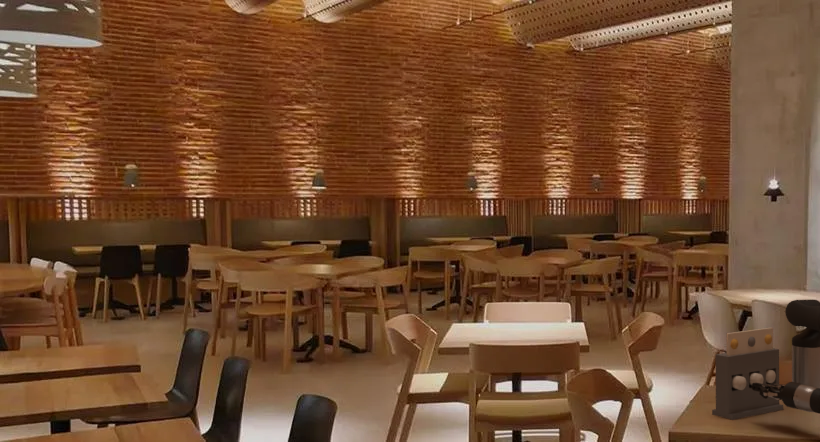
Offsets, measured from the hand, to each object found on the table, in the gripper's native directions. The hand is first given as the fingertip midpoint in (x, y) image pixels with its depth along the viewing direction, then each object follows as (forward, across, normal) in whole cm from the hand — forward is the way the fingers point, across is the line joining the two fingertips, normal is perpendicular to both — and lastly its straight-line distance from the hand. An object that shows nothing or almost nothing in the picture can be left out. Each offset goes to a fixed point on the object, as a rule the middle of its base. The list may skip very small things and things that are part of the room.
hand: (753, 386), depth 265 cm
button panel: (+8, -8, +11) cm, 16 cm away
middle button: (+6, -8, +2) cm, 10 cm away
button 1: (+6, 0, +2) cm, 6 cm away
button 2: (+8, -16, +2) cm, 18 cm away
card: (+8, -8, -9) cm, 14 cm away
